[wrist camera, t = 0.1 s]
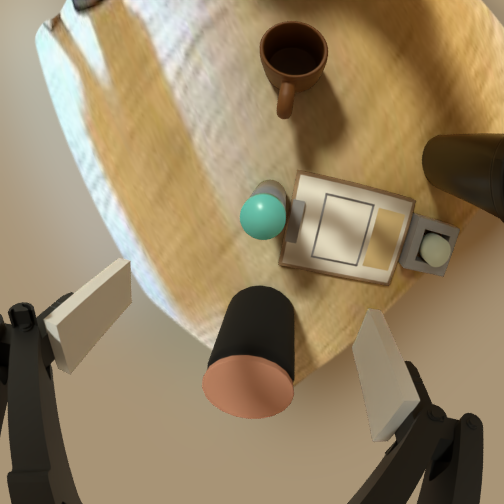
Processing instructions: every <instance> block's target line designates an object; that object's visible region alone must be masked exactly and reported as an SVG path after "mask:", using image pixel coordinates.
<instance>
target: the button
mask: <svg viewBox="0 0 504 504" xmlns="http://www.w3.org/2000/svg"><path fill="white" fill-rule="evenodd" d="M418 251H419V254H420V256H421V257H422V258H423V259H424V260H425V261H426V262H427V263H428V264H429V265H430V266H432V267H440V266H442V265H443V264H445V263H446V262H447V260H448V258H449V256H450V252H451V248H450V245H449V243H448V241H446V240H445V239H444V238H442V237H441V236H440V235H438V234H437V233H434V232H430V233H427V234H425V235H424V236H423V238H422V241H421V244H420V247H419V250H418Z"/></svg>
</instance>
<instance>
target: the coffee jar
mask: <svg viewBox="0 0 504 504" xmlns="http://www.w3.org/2000/svg"><path fill="white" fill-rule="evenodd" d="M294 361H295V352H294V311H293V307H292V305H291V303H290V301H289V299H288V298H287V297H285V296H284V295H283V294H282V293H281V292H280V291H278V290H276V289H274V288H271V287H266V286H252V287H248V288H246V289H244V290H241V291H240V292H238V293H237V294H236V295H235V296H234V297H233V298H232V300H231V302H230V304H229V306H228V309H227V311H226V314H225V317H224V320H223V322H222V325H221V328H220V331H219V334H218V336H217V339H216V342H215V345H214V348H213V350H212V353H211V356H210V359H209V362H208V369H207V371H206V373H205V375H204V377H203V383H202V388H203V391H204V393H205V396H206V397H207V399H208V400H209V401H210V402H211V403H212V404H213V405H214V406H216V407H217V408H219V409H220V410H222V411H223V412H226V413H228V414H231V415H233V416H236V417H242V418H248V419H257V418H258V419H259V418H265V417H270V416H274V415H276V414H278V413H280V412H282V411H283V410H285V409H286V408H287V407H288V405H290V404H291V401H292V399H293V396H294V389H293V381H294Z"/></svg>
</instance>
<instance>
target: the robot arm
mask: <svg viewBox="0 0 504 504" xmlns="http://www.w3.org/2000/svg"><path fill="white" fill-rule="evenodd" d="M131 303H132V300H131V268H130V260H125V259H121V258H118V259H117V260H116V261H114V262H113V263H112V264H110V265H109V266H108V267H107V268H106V269H104V270H103V271H101V272H100V273H99V274H98V275H96V276H95V277H94V278H93V279H92V280H90V281H89V282H88V283H86V284H85V285H84V286H83V287H81V288H80V289H79V290H78V291H76V292H75V293H72V292H71V293H68V294H66V295H63V296H62V297H61V298H60V299H58V300H57V301H56V302H54V303H53V304H52V305H51V306H50V307H48V308H47V309H46V310H45V311H44V312H42V313H41V314H40V315H39V316H38V317H37V318H36V315H35V311H34V307H33V306H32V305H31V304H29V303H23V302H22V303H18V304H15V305H13V306H12V307H11V308H10V309H9V311H8V315H9V318H10V321H11V324H12V325H11V324H6V323H4V321H3V317H2V315H1V314H0V434H1V429H2V424H3V419H4V415H5V410H6V406H7V402H8V427H9V441H10V450H11V459H12V471H11V472H9V473H8V475H7V482H8V488H9V493H10V498H11V503H12V504H82V502H81V500H80V498H79V496H78V493H77V490H76V487H75V484H74V481H73V477H72V474H71V470H70V467H69V463H68V460H67V455H66V452H65V447H64V443H63V438H62V433H61V429H60V423H59V418H58V412H57V405H56V398H55V391H54V382H53V373H52V367H51V363H52V362H53V361H54V359H55V361H56V364H57V367H58V369H60V370H62V371H64V372H66V373H68V374H71V373H72V372H73V371H74V369H75V368H76V367H77V366H78V365H79V363H80V362H81V361H82V360H83V359H84V357H85V356H86V355H87V354H88V353H89V351H90V350H91V349H92V348H93V347H94V346H95V344H96V343H97V342H98V341H99V340H100V338H101V337H102V336H103V335H104V334H105V333H106V331H107V330H108V329H109V328H110V327H111V326H112V325H113V323H114V322H115V321H116V320H117V319H118V318H119V316H120V315H121V314H122V313H123V312H124V311H125V310H126V309H127V307H128V306H129V305H130V304H131ZM352 350H353V355H354V358H355V363H356V367H357V371H358V375H359V379H360V384H361V388H362V392H363V396H364V401H365V406H366V411H367V416H368V421H369V426H370V431H371V436H372V441H388V440H389V439H390V438H391V437H392V436H393V434H394V433H395V436H396V441H395V443H394V444H392V446H391V447H390V448H389V449H388V450H387V451H386V452H385V454H386V455H385V456H384V458H383V459H382V461H381V462H380V463H379V465H378V466H377V467H376V469H375V470H374V471H373V473H372V474H371V475H370V477H369V478H368V479H367V480H366V482H365V483H364V484H363V486H362V487H361V488H360V489H359V490H358V492H357V493H356V494H355V495H354V496H353V498H352V499H351V500H350V501H349V502H348V503H347V504H406V503H407V501H408V499H409V498H410V496H411V494H412V493H413V491H414V489H415V488H416V485H417V484H418V482H419V480H420V479H421V477H422V475H423V473H424V471H425V474H424V479H423V483H422V487H421V491H420V494H419V498H418V501H417V504H479V503H480V494H481V485H482V472H483V471H482V470H483V425H482V422H481V420H480V419H479V418H478V417H477V416H476V415H474V414H472V413H466V414H464V415H463V416H462V417H461V418H460V420H456V419H452V418H447V416H446V413H445V412H444V410H443V409H441V408H440V407H439V406H436V405H434V404H432V402H431V400H430V398H429V395H428V393H427V390H426V388H425V386H424V384H423V381H422V379H421V378H420V375H419V372H418V370H417V368H416V367H415V366H414V365H413V364H412V363H411V362H410V361H404V360H403V357H402V355H401V353H400V351H399V348H398V346H397V344H396V342H395V340H394V337H393V335H392V333H391V331H390V329H389V327H388V324H387V322H386V320H385V318H384V316H383V314H382V312H381V310H377V309H371V308H368V310H367V313H366V315H365V318H364V320H363V323H362V325H361V327H360V330H359V332H358V335H357V337H356V339H355V342H354V344H353V346H352ZM425 469H426V470H425Z"/></svg>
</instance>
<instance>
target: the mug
mask: <svg viewBox="0 0 504 504" xmlns="http://www.w3.org/2000/svg"><path fill="white" fill-rule="evenodd" d="M327 57H328V46H327V43H326V41H325V39H324V37H323V36H322V34H321V33H320V32H319V31H318V30H316V29H315V28H314V27H312V26H310V25H308V24H305V23H302V22H297V21H287V22H282V23H279V24H276V25H274V26H273V27H271V28H270V29H269V30H267V31H266V33H265V34H264V35H263V37H262V39H261V42H260V58H261V62H262V65H263V68H264V71H265V73H266V76H267V78H268V79H269V81H270V82H271V83H272V84H273V85H274V86H275V87H277V88H278V89H280V91H279V97H278V103H277V115H278V117H279V118H281V119H288V118H289V117H290V116H291V113H292V108H293V102H294V96H295V93H297V92H302V91H305V90H308V89H309V88H311V87H312V86H313V85H314V84H315V83H316V82H317V81H318V79H319V77H320V75H321V74H322V72H323V70H324V68H325V65H326V63H327Z"/></svg>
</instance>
